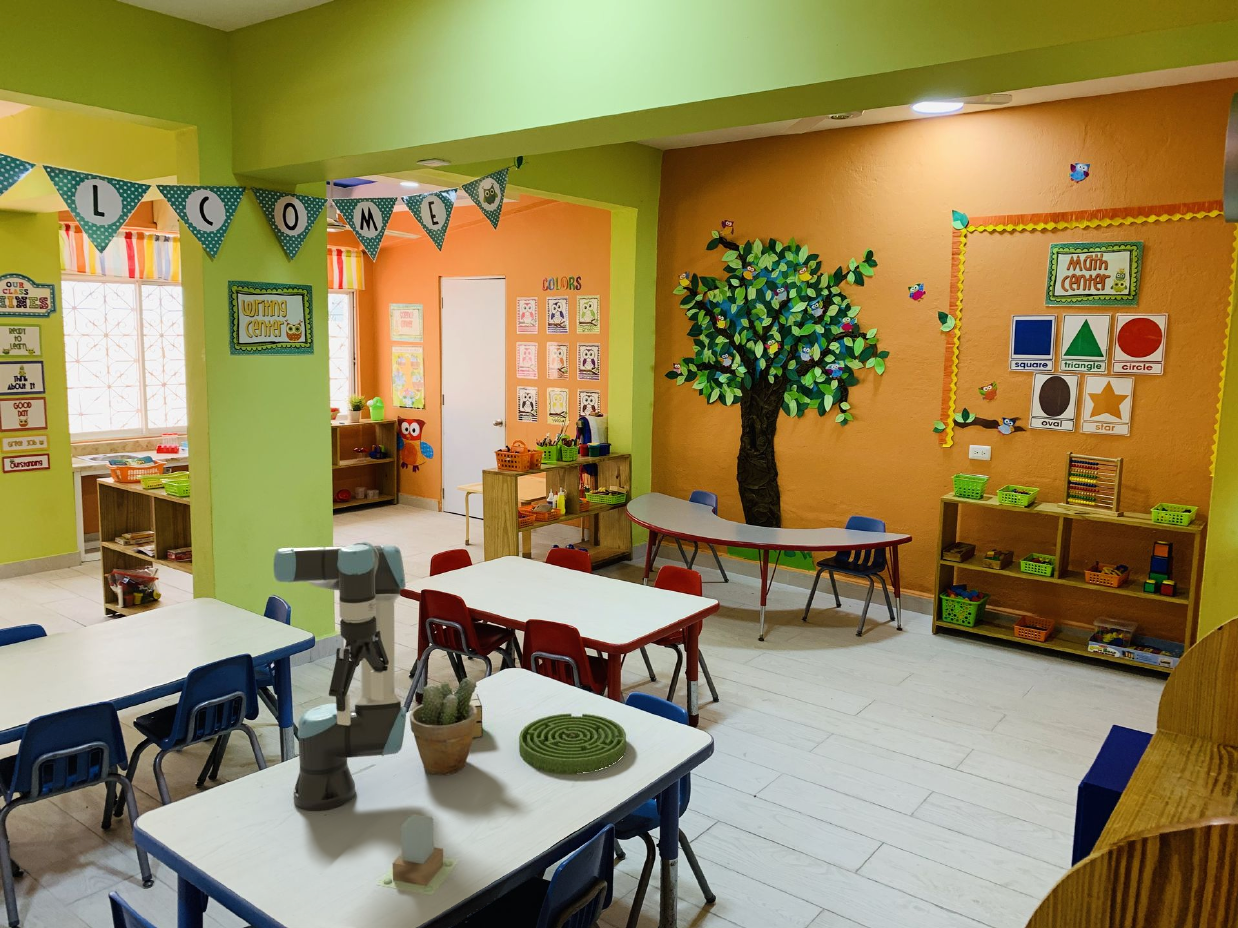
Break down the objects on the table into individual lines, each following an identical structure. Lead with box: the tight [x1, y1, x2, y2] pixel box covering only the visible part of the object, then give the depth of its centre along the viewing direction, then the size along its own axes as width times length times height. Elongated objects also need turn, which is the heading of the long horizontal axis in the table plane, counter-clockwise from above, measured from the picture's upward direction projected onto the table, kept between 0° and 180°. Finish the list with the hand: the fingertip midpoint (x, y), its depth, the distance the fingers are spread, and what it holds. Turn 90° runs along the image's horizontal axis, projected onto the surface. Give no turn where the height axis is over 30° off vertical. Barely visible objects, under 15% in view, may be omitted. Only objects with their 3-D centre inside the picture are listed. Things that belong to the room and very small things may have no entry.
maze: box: [518, 713, 627, 775], centre depth 259 cm, size 31×31×5 cm
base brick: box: [392, 846, 444, 886], centre depth 197 cm, size 8×8×4 cm
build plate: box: [376, 857, 459, 896], centre depth 197 cm, size 13×13×1 cm
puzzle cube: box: [470, 692, 483, 739], centre depth 269 cm, size 10×10×10 cm
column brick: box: [401, 813, 435, 864], centre depth 196 cm, size 5×5×8 cm
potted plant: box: [409, 677, 477, 776], centre depth 247 cm, size 18×19×25 cm
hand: (361, 711), depth 196 cm, fingers open, 13 cm apart
